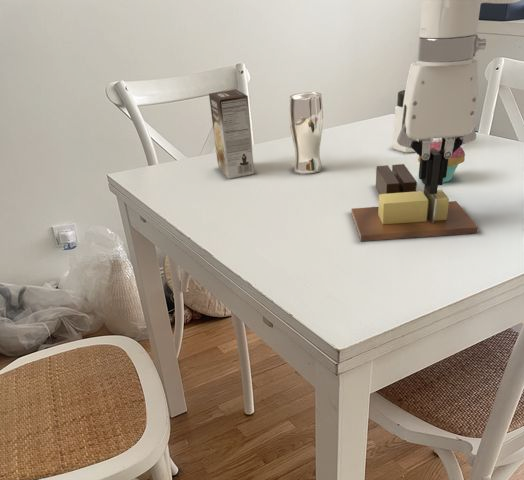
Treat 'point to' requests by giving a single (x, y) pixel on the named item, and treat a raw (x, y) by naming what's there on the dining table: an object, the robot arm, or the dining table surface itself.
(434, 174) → the knife
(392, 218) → the butter
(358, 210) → the board
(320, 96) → the beer glass
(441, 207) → the butter slice
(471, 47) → the robot arm
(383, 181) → the knife block
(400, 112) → the jar
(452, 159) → the cupcake
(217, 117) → the coffee box
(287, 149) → the dining table surface
